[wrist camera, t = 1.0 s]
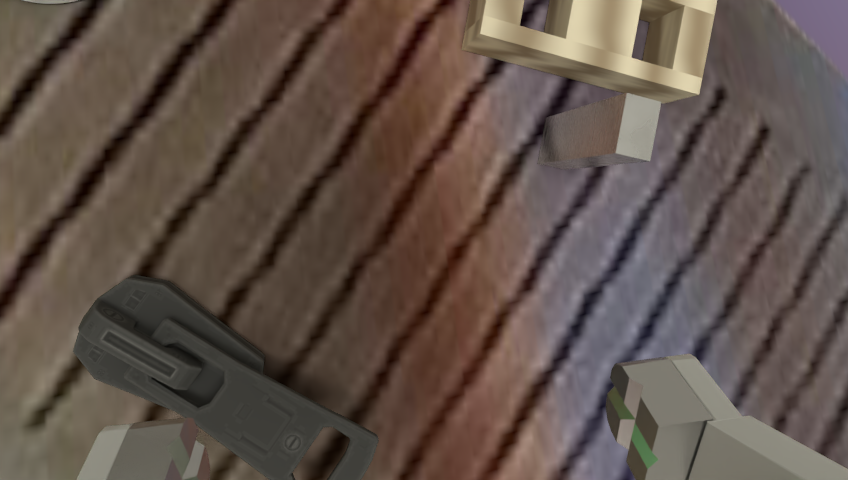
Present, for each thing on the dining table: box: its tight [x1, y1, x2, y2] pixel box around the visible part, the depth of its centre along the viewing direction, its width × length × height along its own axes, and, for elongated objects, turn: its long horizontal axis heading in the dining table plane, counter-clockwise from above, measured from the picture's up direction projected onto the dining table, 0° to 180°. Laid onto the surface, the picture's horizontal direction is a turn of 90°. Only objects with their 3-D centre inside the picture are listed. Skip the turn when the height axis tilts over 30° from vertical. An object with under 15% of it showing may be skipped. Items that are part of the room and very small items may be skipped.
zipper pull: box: [73, 275, 378, 480], centre depth 44 cm, size 9×7×25 cm
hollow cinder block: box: [461, 0, 717, 104], centre depth 50 cm, size 22×9×5 cm, turn 80°
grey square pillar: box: [537, 93, 661, 170], centre depth 47 cm, size 3×4×13 cm, turn 170°
